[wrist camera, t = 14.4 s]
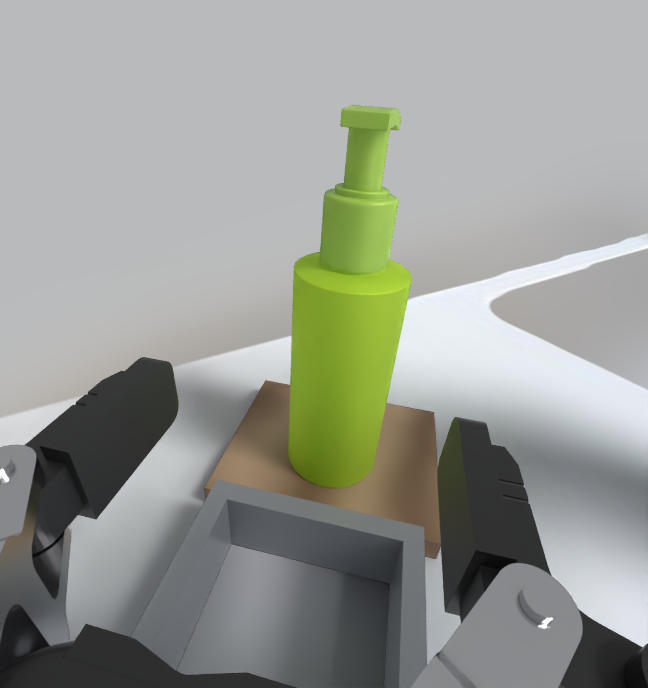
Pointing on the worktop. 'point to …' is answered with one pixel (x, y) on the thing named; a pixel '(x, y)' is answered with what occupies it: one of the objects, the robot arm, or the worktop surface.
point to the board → (364, 496)
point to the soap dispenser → (347, 315)
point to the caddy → (299, 544)
